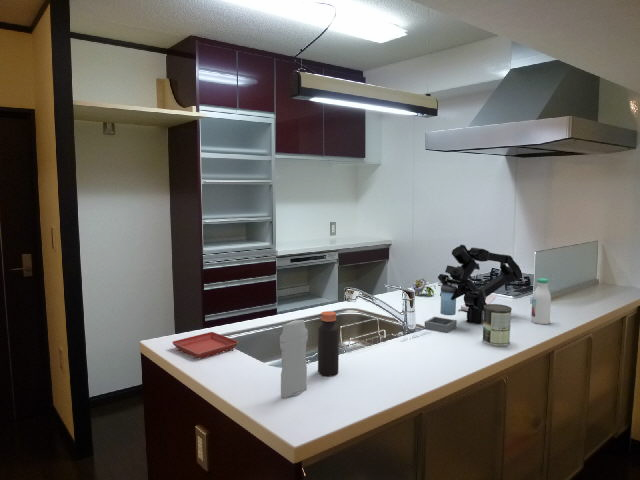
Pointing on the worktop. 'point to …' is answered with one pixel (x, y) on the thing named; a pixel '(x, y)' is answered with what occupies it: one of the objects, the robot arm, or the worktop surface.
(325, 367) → the vinegar
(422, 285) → the passion flower
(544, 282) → the milk bottle
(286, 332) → the tall pale column
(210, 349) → the plant saucer
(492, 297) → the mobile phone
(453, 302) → the blue-grey upright cylinder
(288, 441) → the worktop surface
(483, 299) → the robot arm
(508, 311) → the coffee can
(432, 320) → the cartridge housing
